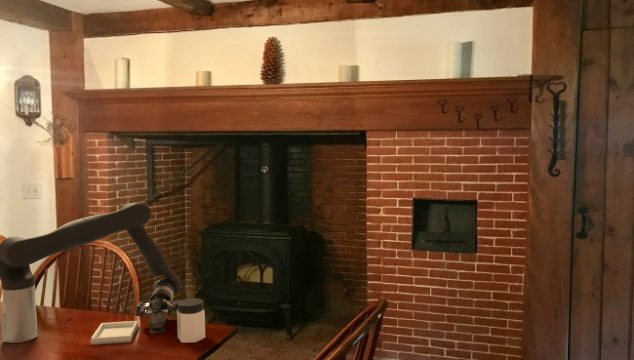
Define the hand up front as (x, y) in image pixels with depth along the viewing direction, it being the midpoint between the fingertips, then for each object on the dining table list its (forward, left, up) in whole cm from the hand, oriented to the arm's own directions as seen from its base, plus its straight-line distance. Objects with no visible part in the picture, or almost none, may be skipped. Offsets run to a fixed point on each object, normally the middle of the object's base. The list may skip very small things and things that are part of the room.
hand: (155, 313), depth 175 cm
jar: (+12, -7, -7) cm, 15 cm away
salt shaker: (0, +2, -7) cm, 7 cm away
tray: (-13, 0, -7) cm, 15 cm away
